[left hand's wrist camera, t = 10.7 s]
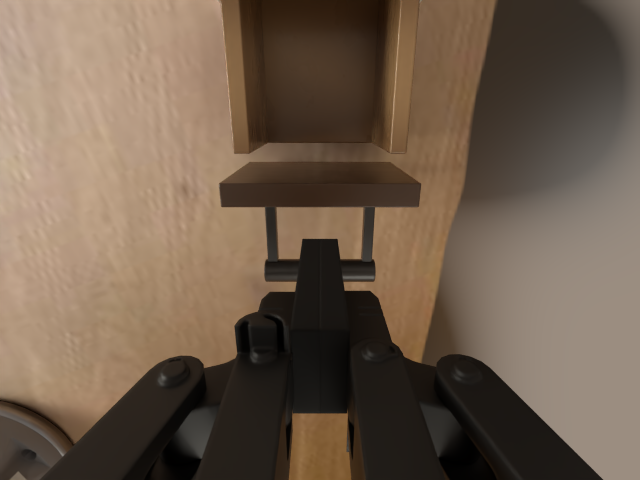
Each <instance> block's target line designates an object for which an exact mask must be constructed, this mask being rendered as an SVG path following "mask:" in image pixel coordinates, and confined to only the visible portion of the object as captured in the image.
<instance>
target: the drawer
mask: <svg viewBox="0 0 640 480" xmlns="http://www.w3.org/2000/svg"><path fill="white" fill-rule="evenodd" d="M220 1H221V13H222V24H223V36H224V48H225V59H226V71H227V82H228V94H229V106H230V117H231V129H232V140H233V152H234V153H251V152H253V151H254V150H256V149H258V148H260V147H261V146H263V145H265V144H267V143H373V144H375V145H377V146H379V147H380V148H382V149H384V150H386V151H387V152H389V153H391V154H405V153H406V151H407V140H408V128H409V117H410V105H411V94H412V82H413V71H414V59H415V48H416V36H417V25H418V13H419V2H420V0H220ZM219 190H220V200H221V207H265V216H266V233H267V250H268V259H266V261H265V268H264V274H265V281H266V282H297V276H298V269H299V261H300V259H278V258H279V254H278V233H277V211H276V207H364V209H363V230H362V252H361V259H340V261H341V269H342V276H343V282H374V280H375V262H374V259H372V248H373V231H374V214H375V207H419V199H420V190H421V183H419V182H418V181H416V180H415V179H413V178H412V177H411V176H409V175H408V174H406V173H405V172H403V171H402V170H401V169H399V168H398V167H396V166H395V165H394V164H392V163H391V162H249V163H248V164H246V165H245V166H243V167H242V168H241V169H239V170H238V171H236V172H235V173H234V174H232V175H231V176H229V177H228V178H226V179H225V180H224V181H222V182H221V183H219Z"/></svg>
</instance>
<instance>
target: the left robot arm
mask: <svg viewBox="0 0 640 480" xmlns="http://www.w3.org/2000/svg"><path fill="white" fill-rule="evenodd" d="M235 335H236V345H237V356H236V358H235V359H233V360H231V361H229V362H227V363H224V364H220V365H216V366H212V367H208V368H204V366H203V363H202V362H201V361H200V360H199V359H197V358H195V357H192V356H177V357H173V358H169V359H167V360H164V361H162V362H160V363H158V364H157V365H156V366H154V367H153V368H152V369H150V370H149V371H148V372H147V373H146V374H145V375H144V376H143V377H142V378H141V379H140V380H139V381H138V382H137V383H136V384H135V385H134V386H133V387H132V388H131V389H130V390H129V391H128V392H127V393H126V394H125V395H124V396H123V397H122V398H121V399H120V400H119V401H118V402H117V403H116V404H115V405H114V406H113V407H112V408H111V409H110V410H109V411H108V412H107V413H106V414H105V415H104V416H103V417H102V418H101V419H100V420H99V421H98V422H97V423H96V424H95V425H94V426H93V427H92V428H91V429H90V430H89V431H88V432H87V433H86V434H85V435H84V436H83V437H82V438H81V439H80V440H79V441H78V442H77V443H76V444H75V445H74V446H73V445H72V444H71V442H70V441H69V440H68V438H67V437H66V436H65V435H64V434H63V433H62V432H61V431H60V430H59V429H58V428H57V427H56V426H54V425H53V424H52V423H50V422H49V421H48V420H46V419H45V418H43V417H41V416H40V415H38V414H36V413H34V412H32V411H30V410H28V409H25V408H23V407H20V406H17V405H14V404H11V403H7V402H3V401H0V480H289V468H290V456H291V444H292V432H293V429H292V411H293V413H347V410H348V429H347V452H349V455H350V467H351V479H352V480H603V479H602V478H601V477H600V476H599V475H598V474H597V473H596V472H595V471H594V470H593V469H592V468H591V467H590V466H589V465H588V464H587V463H586V462H585V461H584V460H583V459H582V458H581V457H580V456H579V455H578V454H577V453H576V452H574V450H573V449H572V448H571V447H570V446H569V445H567V444H566V443H565V442H564V441H563V440H562V439H561V438H560V437H559V436H558V435H557V434H556V433H555V432H554V431H553V430H552V429H551V428H550V427H549V426H548V425H547V424H546V423H545V422H544V421H543V420H542V419H541V418H540V417H539V416H538V415H537V414H536V413H535V412H534V411H533V410H532V409H531V408H530V407H529V406H528V405H527V404H526V403H525V402H524V401H523V400H522V399H521V398H520V397H519V396H518V395H517V394H516V393H515V392H514V391H513V390H512V389H511V388H510V387H509V386H508V385H507V384H506V383H505V382H504V381H503V380H502V379H501V378H500V377H499V376H498V375H497V374H496V373H495V372H494V371H493V370H492V369H491V368H489V367H488V366H487V365H485V364H484V363H483V362H481V361H479V360H477V359H475V358H472V357H469V356H465V355H460V354H454V355H447V356H445V357H442V358H441V359H440V360H439V361H438V362H437V366H436V367H434V366H430V365H425V364H421V363H418V362H414V361H412V360H410V359H407V358H405V357H404V356H403V353H402V351H401V350H400V348H399V347H398V346H397V345H395V344H394V343H393V342H392V340H391V337H390V334H389V331H388V328H387V325H386V321H385V318H384V316H383V312H382V309H381V305H380V302H379V299H378V298H377V297H376V296H375V295H374V294H373V293H372V292H371V291H345V290H344V283H343V276H342V269H341V261H340V254H339V247H338V240H337V239H303V240H302V247H301V254H300V261H299V269H298V276H297V283H296V290H295V292H269V293H268V294H267V295H266V296H265V297H264V298H263V299H262V300H261V304H260V307H259V310H258V312H255V313H252V314H249V315H246V316H244V317H243V318H241V319H240V320H239V321H238V322H237V323H236V325H235Z"/></svg>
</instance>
